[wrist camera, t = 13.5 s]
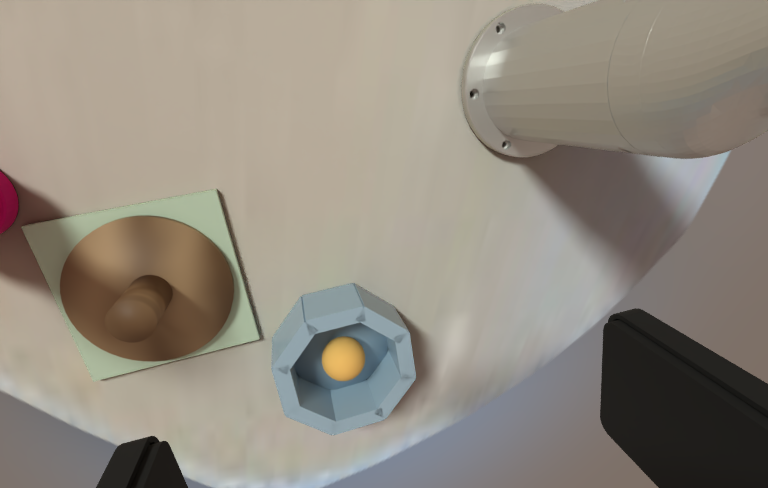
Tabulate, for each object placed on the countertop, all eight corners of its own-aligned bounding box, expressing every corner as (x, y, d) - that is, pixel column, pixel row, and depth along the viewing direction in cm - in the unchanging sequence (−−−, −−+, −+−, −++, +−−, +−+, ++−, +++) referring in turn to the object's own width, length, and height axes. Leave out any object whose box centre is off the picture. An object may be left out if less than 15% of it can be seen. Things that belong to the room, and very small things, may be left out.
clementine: (357, 323, 40) (365, 345, 36) (363, 358, 41) (372, 383, 38) (315, 334, 39) (319, 358, 36) (324, 369, 41) (328, 395, 37)
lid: (211, 201, 34) (199, 218, 28) (250, 335, 38) (245, 372, 32) (37, 233, 31) (-13, 258, 26) (99, 372, 35) (67, 419, 30)
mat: (217, 188, 34) (215, 190, 33) (259, 336, 39) (259, 339, 38) (25, 224, 31) (21, 226, 31) (96, 377, 36) (93, 381, 36)
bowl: (389, 274, 40) (404, 295, 35) (405, 377, 44) (420, 408, 39) (262, 304, 38) (260, 332, 33) (292, 410, 42) (294, 447, 37)
